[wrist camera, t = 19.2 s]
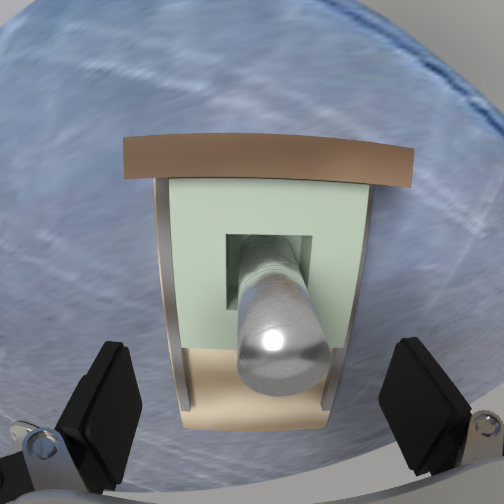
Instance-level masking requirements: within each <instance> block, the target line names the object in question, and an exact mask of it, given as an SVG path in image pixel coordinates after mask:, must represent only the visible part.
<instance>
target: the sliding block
mask: <svg viewBox="0 0 504 504" xmlns="http://www.w3.org/2000/svg"><path fill="white" fill-rule="evenodd" d="M368 194H369V184H367V183H356V182H343V181H328V180H311V179H290V178H260V177H171V178H169V202H170V225H171V242H172V257H173V271H174V283H175V294H176V305H177V315H178V324H179V333H180V341H181V348H198V349H226V350H237V340H238V286H239V252H240V248H241V245H242V243H243V242H244V240H245V239H246V238H247V237H248V236H250V235H251V234H261V235H282V236H283V237H284V238H285V239H286V240H287V242H288V243H289V245H290V248H291V250H292V253H293V255H294V258H295V260H296V263H297V265H298V268H299V270H300V273H301V275H302V278H303V280H304V283H305V285H306V288H307V290H308V293H309V296H310V298H311V301H312V303H313V306H314V309H315V311H316V314H317V316H318V319H319V322H320V324H321V327H322V330H323V332H324V335H325V338H326V340H327V343H328V346H329V348H344V344H345V339H346V335H347V330H348V325H349V320H350V315H351V310H352V305H353V300H354V294H355V288H356V283H357V277H358V271H359V264H360V258H361V251H362V244H363V237H364V229H365V221H366V213H367V204H368Z"/></svg>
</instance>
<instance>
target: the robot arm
mask: <svg viewBox="0 0 504 504" xmlns="http://www.w3.org/2000/svg"><path fill="white" fill-rule="evenodd" d="M379 405H380V407H381V409H382V411H383V413H384V415H385V417H386V419H387V421H388V424H389V426H390V428H391V430H392V432H393V434H394V436H395V439H396V441H397V443H398V445H399V447H400V449H401V451H402V454H403V456H404V458H405V460H406V462H407V465H408V467H409V469H410V470H414V473H415V475H416V476H419V475H422V474H425V473H428V472H429V471H430V473H431V477H428V478H425V479H421V480H418V481H415V482H412V483H409V484H405V485H402V486H398V487H395V488H391V489H388V490H384V491H379V492H375V493H371V494H366V495H362V496H357V497H352V498H347V499H342V500H336V501H330V502H323V503H316V504H504V424H503V422H502V420H501V418H500V417H499V416H498V415H496V414H495V413H493V412H491V411H487V410H481V411H477V412H475V413H474V414H473V415H472V414H471V413H470V411H471V409H472V408H471V407H470V405H469V404H468V402H467V401H466V400H465V398H464V397H463V396H462V394H461V393H460V392H459V390H458V389H457V387H456V386H455V385H454V383H453V382H452V381H451V380H450V378H449V377H448V376H447V374H446V373H445V372H444V370H443V369H442V368H441V367H440V365H439V364H438V363H437V361H436V360H435V359H434V358H433V356H432V355H431V354H430V352H429V351H428V350H427V349H426V347H425V346H424V345H423V344H422V343H421V341H420V340H419V339H418V338H417V337H410V338H403V339H401V340H400V342H399V343H397V344H396V346H395V349H394V353H393V356H392V359H391V362H390V365H389V368H388V371H387V374H386V377H385V380H384V383H383V386H382V389H381V391H380V394H379ZM141 411H142V400H141V396H140V393H139V389H138V385H137V382H136V378H135V374H134V370H133V366H132V361H131V357H130V353H129V349H128V347H124V345H123V343H122V342H113V341H106V342H105V343H104V345H103V346H102V348H101V350H100V352H99V353H98V355H97V357H96V359H95V360H94V362H93V364H92V366H91V367H90V369H89V371H88V373H87V375H84V376H83V377H82V378H81V380H80V381H79V383H78V385H77V387H76V389H75V390H74V392H73V394H72V396H71V398H70V400H69V402H68V403H67V405H66V407H65V409H64V411H63V413H62V415H61V417H60V419H59V421H58V423H57V425H56V427H55V429H51V428H46V427H42V428H37V427H35V426H33V425H30V424H27V423H23V422H15V423H14V424H13V425H12V426H11V428H10V433H11V436H12V438H13V440H14V441H15V442H14V444H13V445H12V447H11V449H10V451H9V453H8V455H7V456H5V457H3V458H0V504H155V503H148V502H141V501H134V500H128V499H123V498H117V497H112V496H106V495H101V494H102V493H103V490H104V489H107V490H112V491H115V488H116V484H121V482H122V480H123V476H124V472H125V468H126V464H127V461H128V457H129V453H130V450H131V446H132V442H133V439H134V435H135V432H136V428H137V425H138V422H139V418H140V415H141Z"/></svg>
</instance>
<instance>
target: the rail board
mask: <svg viewBox="0 0 504 504" xmlns="http://www.w3.org/2000/svg"><path fill="white" fill-rule="evenodd" d="M123 153H124V179H139V178H154V201H155V220H156V235H157V248H158V260H159V271H160V281H161V290H162V299H163V307H164V315H165V323H166V330H167V337H168V344H169V351H170V357H171V364H172V370H173V375H174V381H175V387H176V392H177V398H178V403H179V408H180V413H181V418H182V423H183V427H184V428H186V429H199V430H218V431H285V430H303V429H317V428H325V427H326V424H327V421H328V418H329V414H330V411H331V408H332V405H333V402H334V398H335V394H336V391H337V387H338V383H339V380H340V376H341V372H342V368H343V364H344V360H345V356H346V352H347V347H348V343H349V339H350V334H351V330H352V325H353V320H354V315H355V311H356V305H357V300H358V295H359V290H360V284H361V278H362V272H363V266H364V260H365V254H366V247H367V240H368V233H369V225H370V217H371V209H372V200H373V190H374V184H379V185H390V186H399V187H408V188H411V183H412V173H413V162H414V149H413V148H407V147H400V146H394V145H387V144H380V143H373V142H365V141H356V140H347V139H337V138H327V137H315V136H301V135H283V134H258V133H192V134H167V135H150V136H136V137H124V138H123ZM171 177H260V178H290V179H311V180H328V181H343V182H356V183H367V184H369V194H368V204H367V213H366V221H365V229H364V237H363V244H362V251H361V258H360V264H359V271H358V277H357V283H356V288H355V294H354V300H353V305H352V310H351V315H350V320H349V325H348V330H347V335H346V339H345V344H344V348H330V352H331V363H330V367H329V369H328V371H327V373H326V374H325V376H324V377H323V378H322V379H321V380H320V381H319V382H318V383H317V384H316V385H314V386H313V387H311V388H310V389H308V390H306V391H304V392H301V393H299V394H295V395H291V396H283V397H275V396H268V395H263V394H260V393H258V392H255V391H254V390H252V389H250V388H249V387H248V386H246V385H245V384H244V382H243V381H242V380H241V378H240V376H239V374H238V370H237V350H226V349H198V348H181V341H180V333H179V324H178V315H177V305H176V294H175V283H174V271H173V257H172V242H171V225H170V202H169V178H171Z"/></svg>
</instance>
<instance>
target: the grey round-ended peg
mask: <svg viewBox="0 0 504 504" xmlns="http://www.w3.org/2000/svg"><path fill="white" fill-rule="evenodd" d="M330 363H331V352H330V348H329V346H328V343H327V340H326V338H325V335H324V332H323V330H322V327H321V324H320V322H319V319H318V316H317V314H316V311H315V309H314V306H313V303H312V301H311V298H310V296H309V293H308V290H307V288H306V285H305V283H304V280H303V278H302V275H301V273H300V270H299V268H298V265H297V263H296V260H295V258H294V255H293V253H292V250H291V248H290V245H289V243H288V242H287V240H286V239H285V238H284V237H283V236H282V235H261V234H251V235H250V236H248V237H247V238H246V239H245V240H244V242H243V243H242V245H241V248H240V252H239V286H238V340H237V370H238V374H239V376H240V378H241V380H242V381H243V382H244V384H245V385H246V386H248V387H249V388H250V389H252V390H254V391H255V392H258V393H260V394H263V395H268V396H275V397H283V396H291V395H295V394H299V393H301V392H304V391H306V390H308V389H310V388H311V387H313V386H314V385H316V384H317V383H318V382H319V381H320V380H321V379H322V378H323V377H324V376H325V374H326V373H327V371H328V369H329V367H330Z"/></svg>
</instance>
